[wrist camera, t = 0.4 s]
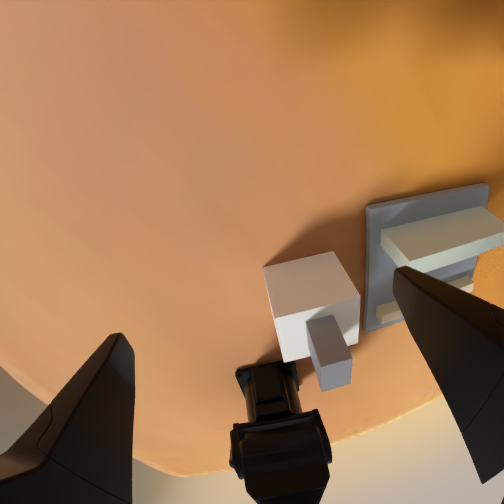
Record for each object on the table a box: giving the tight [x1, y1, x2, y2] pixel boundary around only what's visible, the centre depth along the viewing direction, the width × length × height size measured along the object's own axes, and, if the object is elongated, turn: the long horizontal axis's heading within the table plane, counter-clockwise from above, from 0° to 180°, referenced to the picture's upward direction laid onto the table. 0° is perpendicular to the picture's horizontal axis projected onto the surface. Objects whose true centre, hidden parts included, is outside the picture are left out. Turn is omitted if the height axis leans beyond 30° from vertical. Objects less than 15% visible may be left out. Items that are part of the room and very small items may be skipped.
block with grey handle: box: [262, 251, 361, 392], centre depth 22 cm, size 5×6×10 cm
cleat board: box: [363, 182, 504, 333], centre depth 24 cm, size 14×14×6 cm
